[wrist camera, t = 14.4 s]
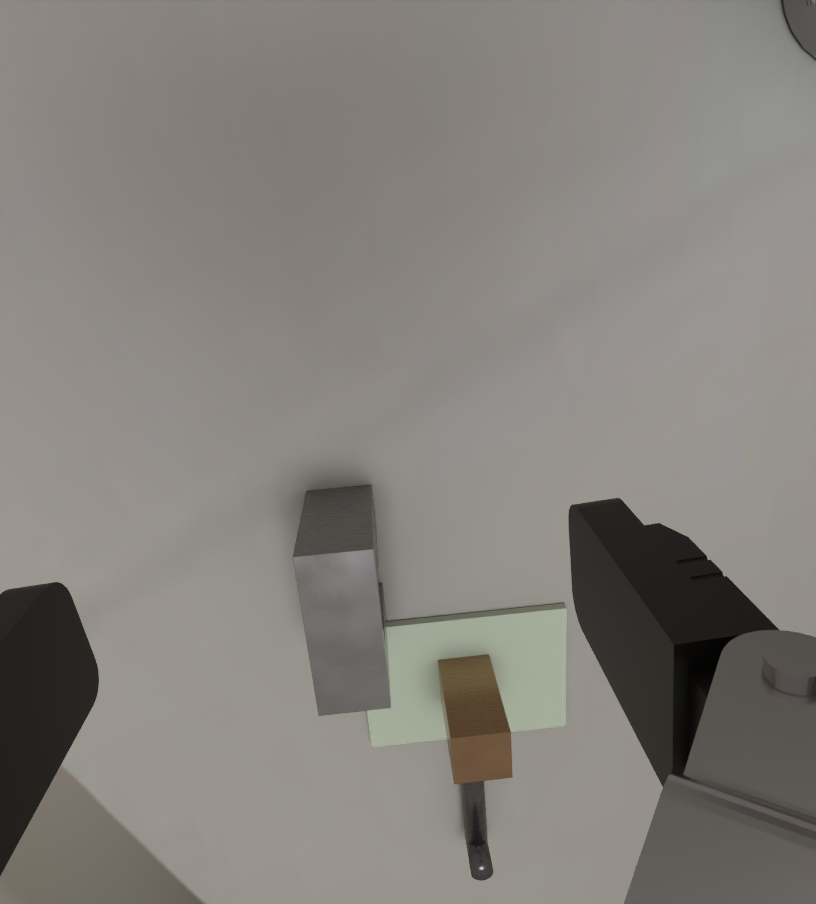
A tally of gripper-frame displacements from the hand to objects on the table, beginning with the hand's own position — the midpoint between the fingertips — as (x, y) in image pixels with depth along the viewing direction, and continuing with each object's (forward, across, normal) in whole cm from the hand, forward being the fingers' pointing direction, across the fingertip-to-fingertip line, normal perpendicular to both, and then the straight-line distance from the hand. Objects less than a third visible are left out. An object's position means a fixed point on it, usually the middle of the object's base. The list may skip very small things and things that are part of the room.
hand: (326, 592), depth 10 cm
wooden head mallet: (+27, -3, +32) cm, 42 cm away
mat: (+28, -4, +25) cm, 38 cm away
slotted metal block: (+28, +3, +15) cm, 32 cm away
